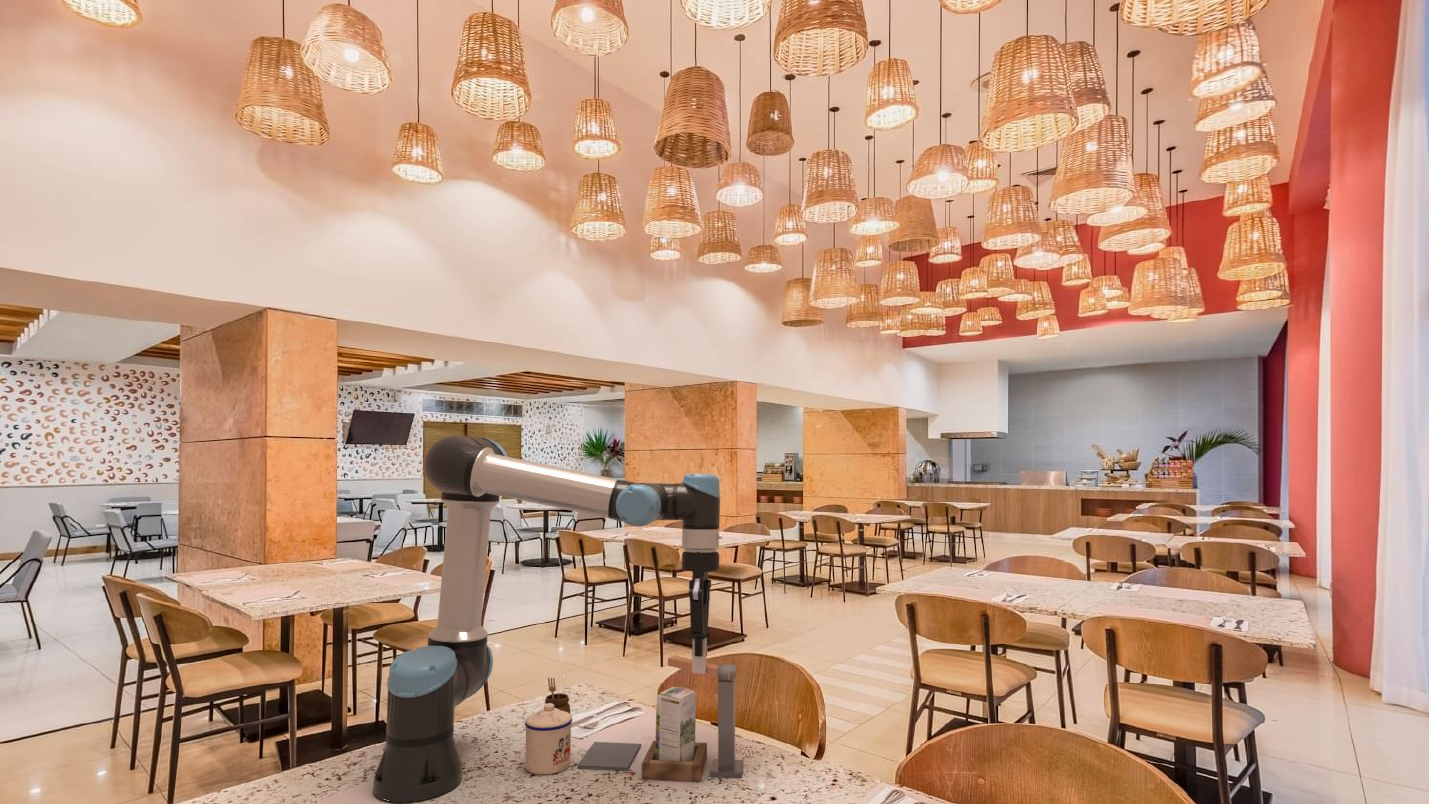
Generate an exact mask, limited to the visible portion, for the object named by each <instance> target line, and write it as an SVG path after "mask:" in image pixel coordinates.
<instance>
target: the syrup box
mask: <svg viewBox="0 0 1429 804" xmlns="http://www.w3.org/2000/svg"><path fill="white" fill-rule="evenodd" d="M696 698H697V692H696V691H695V690H692V689H689V688H685V687H680V686H672V687H670V688H668V689H665V690H663V691H661V692H659V693H657V694H656V709H655V710H656V712H655V713H656V715H655V720H656V721H655V741H656V750H655V760H666V761H689V762H693V761H694V758H695V742H696V715H697V713H696V712H697V711H696V708H697V707H696V704H697V703H696V702H697V701H696V700H697V699H696Z"/></svg>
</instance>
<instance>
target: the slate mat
mask: <svg viewBox="0 0 1429 804" xmlns="http://www.w3.org/2000/svg"><path fill="white" fill-rule="evenodd" d="M641 747H642V743H635V742H634V743H631V742H630V743H629V742H609V741H608V742H607V741H604V742H603V741H602V742H601V741H594V742H593V743H592V744H591V746H590V747H589V749H587V752H585V754H584V755H583V757H582V758H581V759H580V761H579V762H578V764H577V765H576V767H577V769H582V770H584V769H585V770H602V771H624V772H625V771H626V772H627V771H629V769H630V768H631V766H632V764H633V762H634V760H635V758H636V756H637V755H638V753H639V751H640V749H641Z"/></svg>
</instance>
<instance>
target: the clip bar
mask: <svg viewBox="0 0 1429 804" xmlns="http://www.w3.org/2000/svg"><path fill="white" fill-rule="evenodd" d="M667 666H668V667H673V668H676V669H681V670H684V671H689V672H692V658H688V657H683V656H678V655H674V656H670V657H667ZM700 674H702V673H700ZM702 675H703V674H702ZM705 675H707V676H710V677H715V678H717V679H718V680H719V679H723V680H731V679H735V680H736V678H737V666H736V665H735V664H732V663H731V664H730V663H723V664H715V663H710V662H706V674H705Z"/></svg>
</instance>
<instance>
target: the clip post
mask: <svg viewBox="0 0 1429 804" xmlns="http://www.w3.org/2000/svg"><path fill="white" fill-rule="evenodd" d="M717 688H718V689H717V692H718V693H717V695H718V696H717V698H718V699H717V713H718V714H717V718H718V719H717V721H718V722H717V723H718V724H717V732H718V733H717V736H718V737H717V738H718V739H717V741H718V744H717V746H718V747H717V753H718V754H717V755H718V756H717V758H712V761H711V764H710V768H709V777H710V778H724V779H725V778H729V779H730V778H731V779H742V776H743V771H744V759H736V678H735V679H731V680H723V679H719V678H718V681H717Z"/></svg>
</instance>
